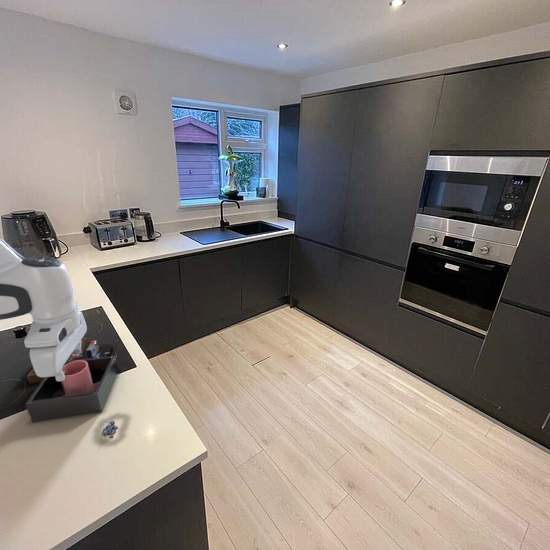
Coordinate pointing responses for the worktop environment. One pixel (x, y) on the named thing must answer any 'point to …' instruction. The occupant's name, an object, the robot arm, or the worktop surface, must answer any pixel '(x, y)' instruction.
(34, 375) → the wooden divided tray
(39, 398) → the dark grey open box
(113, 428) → the blueberries
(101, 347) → the tap panel
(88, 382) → the cup
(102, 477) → the worktop surface
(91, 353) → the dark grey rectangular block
